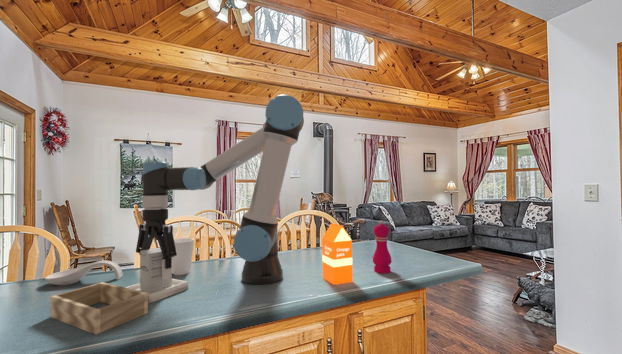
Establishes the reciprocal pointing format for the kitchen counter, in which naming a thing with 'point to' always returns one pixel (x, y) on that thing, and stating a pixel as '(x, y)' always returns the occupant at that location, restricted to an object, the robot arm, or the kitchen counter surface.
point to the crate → (93, 320)
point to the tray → (175, 288)
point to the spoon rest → (80, 273)
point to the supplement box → (152, 271)
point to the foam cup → (182, 256)
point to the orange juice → (337, 255)
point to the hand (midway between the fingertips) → (155, 276)
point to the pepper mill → (381, 249)
